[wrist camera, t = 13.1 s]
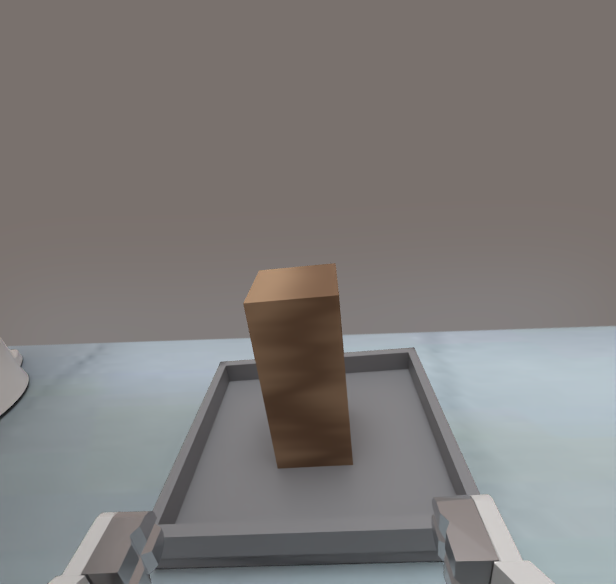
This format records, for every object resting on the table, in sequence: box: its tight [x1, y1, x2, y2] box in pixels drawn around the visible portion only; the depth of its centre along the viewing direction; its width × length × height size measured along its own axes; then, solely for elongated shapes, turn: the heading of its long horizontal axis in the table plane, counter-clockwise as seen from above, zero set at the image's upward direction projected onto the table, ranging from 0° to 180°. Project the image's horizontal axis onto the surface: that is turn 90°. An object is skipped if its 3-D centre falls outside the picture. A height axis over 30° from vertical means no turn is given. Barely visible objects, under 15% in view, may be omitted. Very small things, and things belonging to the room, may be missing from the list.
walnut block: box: [244, 263, 353, 469], centre depth 20 cm, size 4×4×11 cm
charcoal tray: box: [153, 348, 480, 569], centre depth 22 cm, size 16×14×2 cm
